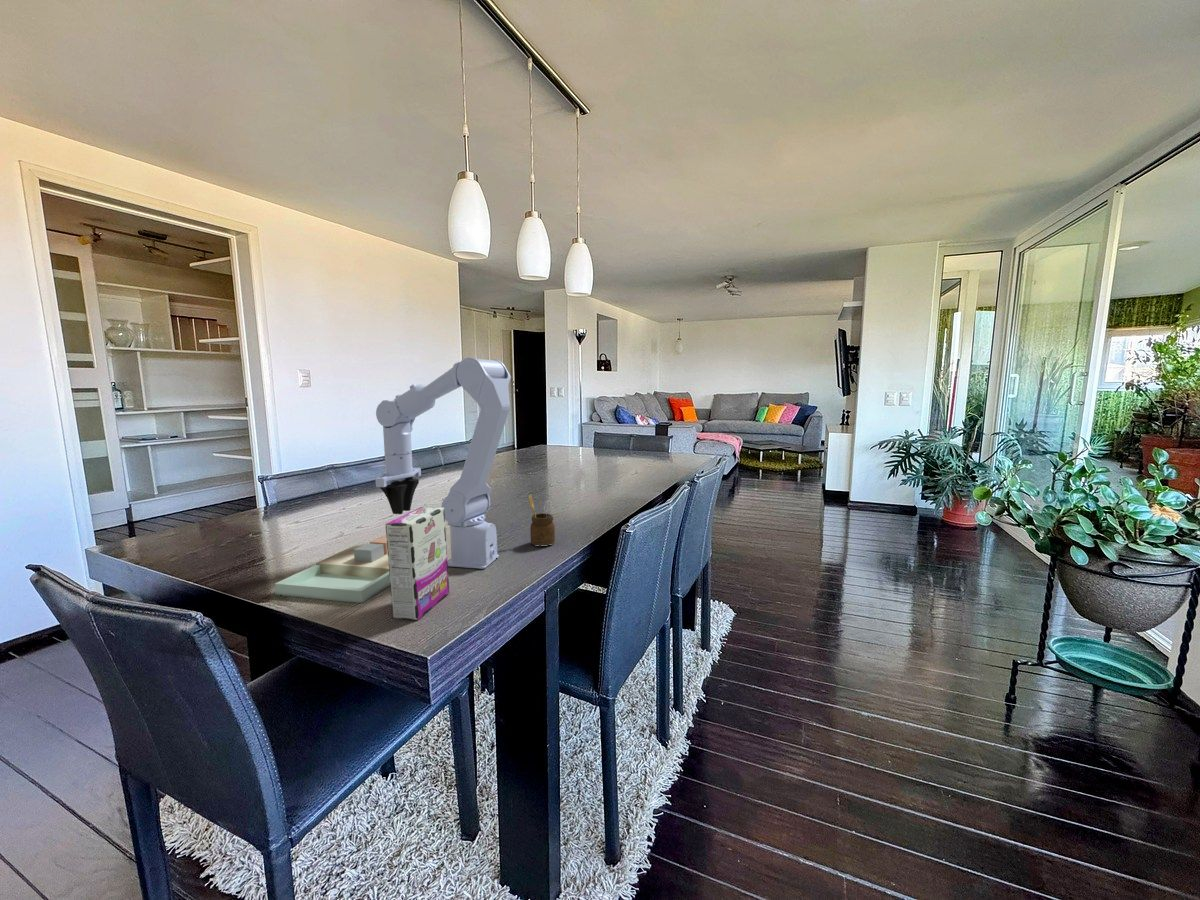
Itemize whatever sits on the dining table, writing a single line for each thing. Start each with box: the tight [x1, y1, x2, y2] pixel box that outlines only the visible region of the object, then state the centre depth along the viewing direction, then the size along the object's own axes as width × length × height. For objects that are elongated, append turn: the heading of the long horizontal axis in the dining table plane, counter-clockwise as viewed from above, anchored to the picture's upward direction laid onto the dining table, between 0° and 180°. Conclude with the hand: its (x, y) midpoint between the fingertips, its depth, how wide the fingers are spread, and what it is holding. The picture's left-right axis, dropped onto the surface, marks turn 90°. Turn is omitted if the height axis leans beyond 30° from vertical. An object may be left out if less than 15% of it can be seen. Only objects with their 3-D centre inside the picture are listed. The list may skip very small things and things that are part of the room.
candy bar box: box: [385, 506, 450, 621], centre depth 85 cm, size 11×5×16 cm, turn 170°
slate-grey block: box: [354, 543, 384, 562], centre depth 102 cm, size 4×4×2 cm
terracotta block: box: [369, 536, 388, 554], centre depth 107 cm, size 4×4×2 cm
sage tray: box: [274, 564, 390, 604], centre depth 93 cm, size 18×10×2 cm, turn 79°
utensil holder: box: [527, 494, 556, 546], centre depth 119 cm, size 6×6×12 cm
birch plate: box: [315, 543, 389, 578], centre depth 105 cm, size 18×13×2 cm
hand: (401, 512), depth 113 cm, fingers open, 2 cm apart
